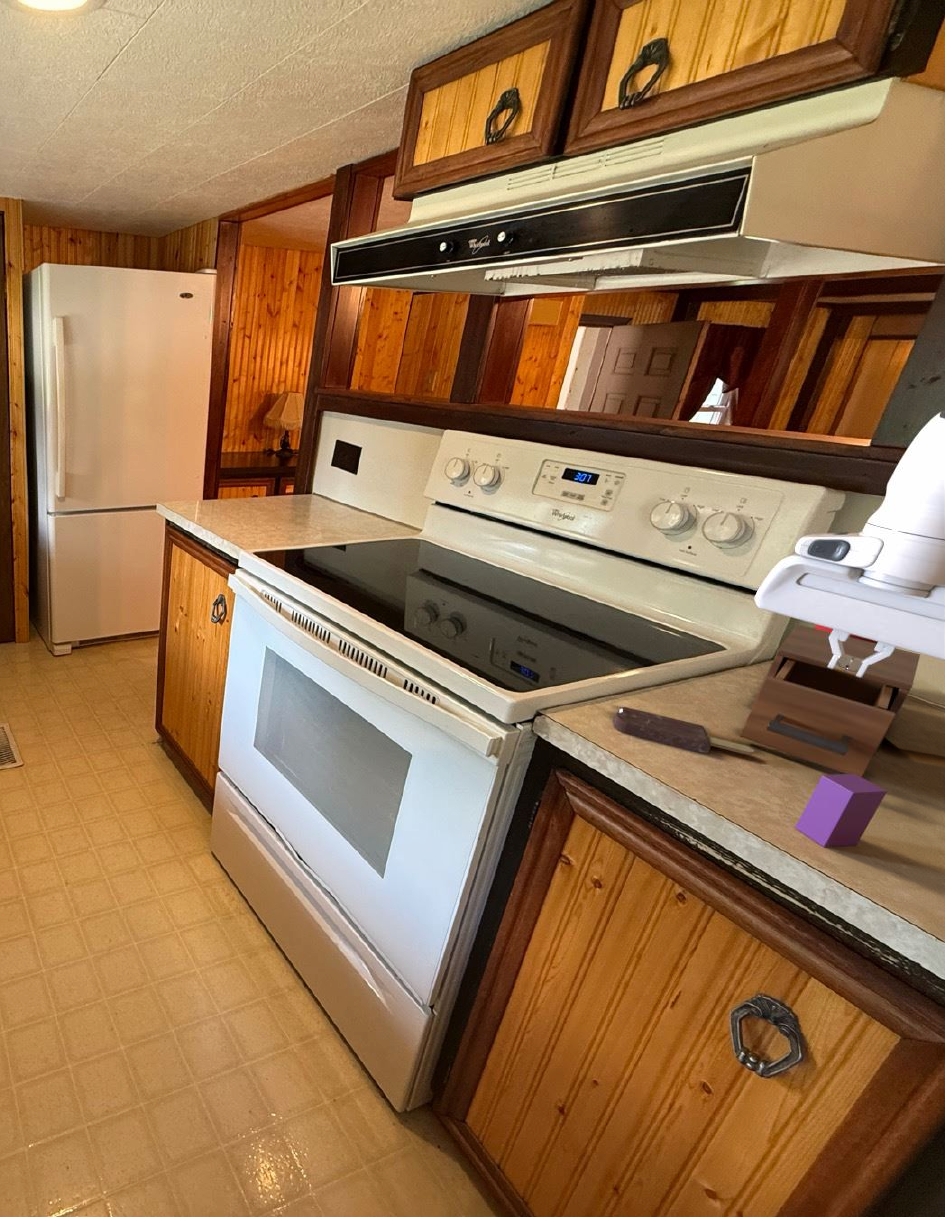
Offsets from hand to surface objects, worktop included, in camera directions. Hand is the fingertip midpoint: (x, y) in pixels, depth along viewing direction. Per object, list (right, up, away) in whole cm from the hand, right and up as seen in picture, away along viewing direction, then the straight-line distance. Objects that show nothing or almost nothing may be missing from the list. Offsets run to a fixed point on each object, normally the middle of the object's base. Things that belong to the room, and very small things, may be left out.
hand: (844, 671), depth 76 cm
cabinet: (+16, -8, +19) cm, 26 cm away
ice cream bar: (-9, -10, +12) cm, 18 cm away
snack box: (-8, -17, -5) cm, 20 cm away
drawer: (+6, -10, +10) cm, 16 cm away
